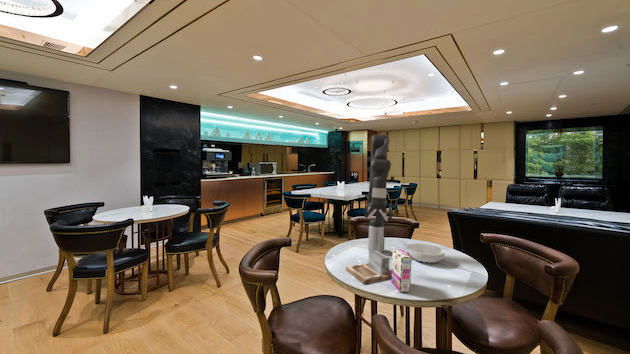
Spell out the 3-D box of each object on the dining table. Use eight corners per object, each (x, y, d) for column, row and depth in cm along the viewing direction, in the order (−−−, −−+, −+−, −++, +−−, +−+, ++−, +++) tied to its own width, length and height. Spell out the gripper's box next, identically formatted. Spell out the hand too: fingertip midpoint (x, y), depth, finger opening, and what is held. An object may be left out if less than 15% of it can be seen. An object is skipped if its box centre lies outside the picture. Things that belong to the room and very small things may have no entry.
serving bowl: (440, 255, 165) (441, 244, 164) (447, 269, 145) (448, 256, 144) (405, 251, 170) (406, 241, 170) (407, 264, 150) (408, 252, 150)
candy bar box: (410, 292, 118) (412, 257, 117) (400, 293, 118) (401, 257, 117) (400, 281, 130) (401, 248, 128) (390, 281, 129) (392, 248, 128)
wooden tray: (376, 264, 149) (377, 248, 148) (396, 277, 134) (397, 259, 133) (345, 270, 141) (346, 252, 141) (363, 284, 126) (363, 265, 125)
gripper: (393, 196, 142) (391, 226, 142) (366, 194, 147) (365, 223, 147) (392, 198, 135) (390, 229, 135) (364, 195, 140) (362, 226, 140)
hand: (377, 226), depth 141 cm, fingers open, 8 cm apart
